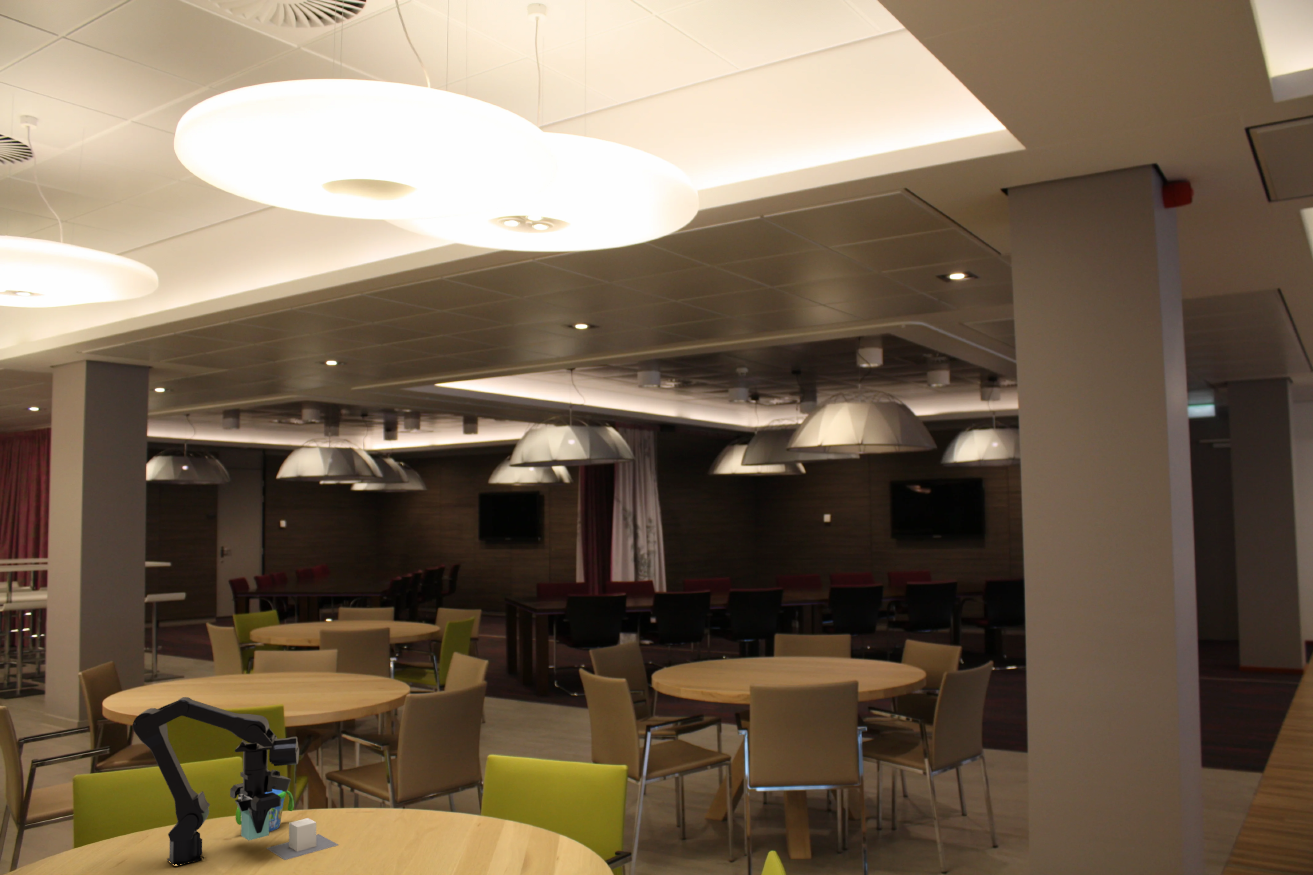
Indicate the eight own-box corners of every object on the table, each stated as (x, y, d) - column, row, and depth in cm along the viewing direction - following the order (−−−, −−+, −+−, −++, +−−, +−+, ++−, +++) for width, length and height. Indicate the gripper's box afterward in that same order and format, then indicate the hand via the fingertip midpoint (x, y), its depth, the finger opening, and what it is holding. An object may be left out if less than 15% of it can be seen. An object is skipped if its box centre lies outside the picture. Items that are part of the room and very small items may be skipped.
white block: (297, 851, 238) (297, 826, 238) (288, 846, 241) (289, 822, 242) (316, 846, 241) (316, 822, 242) (307, 841, 245) (308, 817, 245)
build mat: (284, 862, 232) (284, 859, 232) (265, 850, 241) (265, 847, 241) (339, 847, 242) (339, 844, 242) (318, 836, 250) (318, 833, 250)
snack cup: (285, 818, 266) (285, 781, 266) (301, 827, 258) (301, 789, 259) (228, 832, 255) (228, 794, 255) (242, 842, 247) (243, 802, 248)
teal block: (248, 840, 235) (248, 815, 236) (241, 835, 239) (241, 811, 240) (268, 835, 239) (268, 810, 239) (261, 830, 243) (261, 806, 243)
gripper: (301, 767, 239) (301, 830, 238) (272, 754, 253) (272, 814, 251) (257, 776, 231) (256, 842, 230) (229, 763, 245) (229, 824, 244)
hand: (254, 830), depth 239 cm, fingers closed on teal block, 5 cm apart
